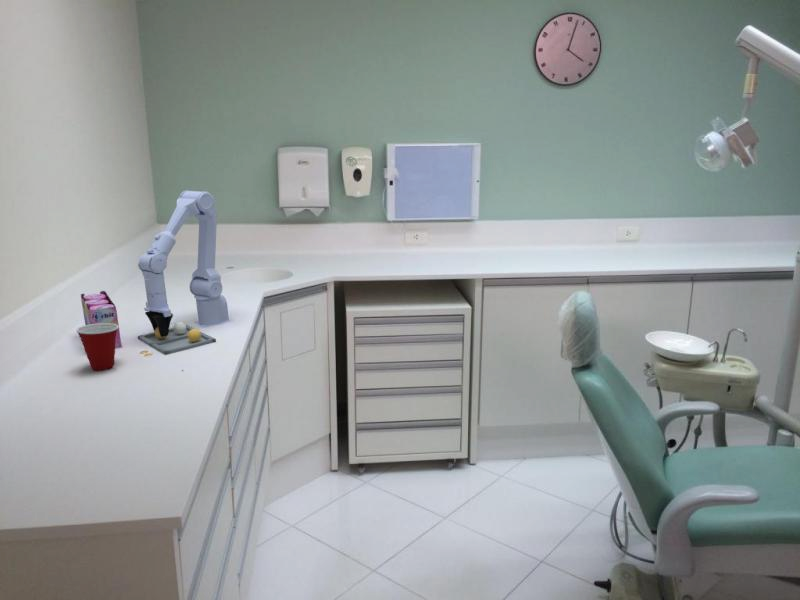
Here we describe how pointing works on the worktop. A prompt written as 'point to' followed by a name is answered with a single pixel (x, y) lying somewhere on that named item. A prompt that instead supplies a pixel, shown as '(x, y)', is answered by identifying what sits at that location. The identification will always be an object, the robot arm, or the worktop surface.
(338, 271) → the worktop surface
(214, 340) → the sorting tray
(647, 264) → the worktop surface
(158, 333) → the amber ball
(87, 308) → the gum box
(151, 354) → the card
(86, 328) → the plastic cup
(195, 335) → the amber ball
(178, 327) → the ivory ball
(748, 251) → the worktop surface
